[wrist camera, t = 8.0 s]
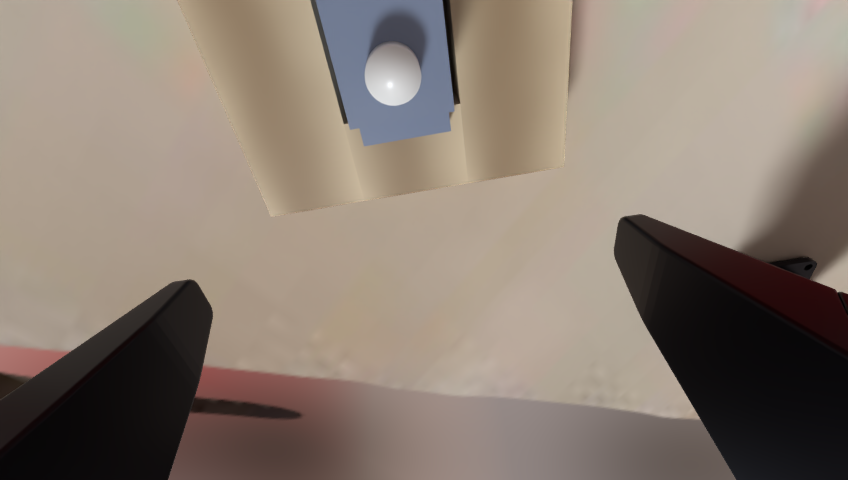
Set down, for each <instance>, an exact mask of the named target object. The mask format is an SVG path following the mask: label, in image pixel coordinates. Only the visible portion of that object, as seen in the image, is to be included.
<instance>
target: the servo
mask: <svg viewBox="0 0 848 480" xmlns="http://www.w3.org/2000/svg"><path fill="white" fill-rule="evenodd" d="M316 4H317V8H318V11H319V15H320V19H321V23H322V27H323V30H324V34H325V38H326V42H327V45H328V49H329V53H330V57H331V60H332V64H333V68H334V72H335V75H336V79H337V83H338V87H339V90H340V94H341V98H342V102H343V105H344V109H345V113H346V117H347V120H348V124H349V128H350V130H353V129H358V128H359V129H360V133H361V137H362V141H363V145H364V146H370V145H375V144H381V143H387V142H392V141H398V140H404V139H409V138H415V137H421V136H426V135H432V134H438V133H444V132H449V131H451V125H450V117H449V112H454V111H455V110H454V100H453V91H452V82H451V73H450V64H449V55H448V46H447V37H446V28H445V19H444V10H443V1H442V0H316Z"/></svg>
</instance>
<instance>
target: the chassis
mask: <svg viewBox="0 0 848 480" xmlns="http://www.w3.org/2000/svg"><path fill="white" fill-rule="evenodd" d="M177 1H178V3H179V6H180V8H181V10H182V13H183V15H184V17H185V19H186V22H187V24H188V26H189V29H190V31H191V33H192V36H193V38H194V40H195V43H196V45H197V47H198V49H199V52H200V54H201V56H202V59H203V61H204V63H205V66H206V68H207V70H208V73H209V75H210V77H211V79H212V82H213V84H214V86H215V89H216V91H217V93H218V96H219V98H220V100H221V103H222V105H223V107H224V109H225V112H226V114H227V116H228V119H229V121H230V123H231V126H232V128H233V130H234V133H235V135H236V137H237V139H238V142H239V144H240V146H241V149H242V151H243V153H244V156H245V158H246V160H247V163H248V165H249V167H250V169H251V172H252V174H253V176H254V179H255V181H256V183H257V186H258V188H259V190H260V193H261V195H262V197H263V199H264V202H265V204H266V206H267V209H268V211H269V213H270V216H271V217H274V216H280V215H285V214H291V213H297V212H303V211H309V210H315V209H321V208H327V207H332V206H338V205H344V204H350V203H356V202H362V201H368V200H374V199H379V198H385V197H391V196H397V195H403V194H409V193H415V192H420V191H426V190H432V189H438V188H444V187H450V186H456V185H462V184H467V183H473V182H479V181H485V180H491V179H497V178H503V177H509V176H514V175H520V174H526V173H532V172H538V171H544V170H550V169H555V168H561V167H564V157H565V137H566V117H567V97H568V78H569V58H570V38H571V18H572V0H442V1H443V10H444V19H445V28H446V37H447V46H448V55H449V64H450V73H451V82H452V91H453V100H454V110H455V111H454V112H449V117H450V125H451V131H449V132H444V133H438V134H432V135H426V136H421V137H415V138H409V139H404V140H398V141H392V142H387V143H381V144H375V145H370V146H364V145H363V141H362V137H361V133H360V129H359V128H358V129H353V130H350V128H349V124H348V120H347V117H346V113H345V109H344V105H343V102H342V98H341V94H340V90H339V87H338V83H337V79H336V75H335V72H334V68H333V64H332V60H331V57H330V53H329V49H328V45H327V42H326V38H325V34H324V30H323V27H322V23H321V19H320V15H319V11H318V8H317V4H316V0H177Z"/></svg>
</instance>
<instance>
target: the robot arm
mask: <svg viewBox="0 0 848 480" xmlns="http://www.w3.org/2000/svg"><path fill="white" fill-rule="evenodd" d="M614 256H615V260H616V262H617V264H618V267H619V269H620V271H621V273H622V276H623V278H624V280H625V283H626V285H627V287H628V289H629V292H630V294H631V296H632V298H633V301H634V303H635V305H636V308H637V310H638V312H639V314H640V316H641V318H642V320H643V322H644V324H645V326H646V327H647V329H648V331H649V333H650V334H651V336H652V338H653V339H654V341H655V343H656V345H657V346H658V348H659V350H660V351H661V353H662V355H663V356H664V358H665V360H666V361H667V363H668V365H669V367H670V368H671V370H672V372H673V373H674V375H675V377H676V378H677V380H678V382H679V383H680V385H681V387H682V389H683V390H684V392H685V394H686V395H687V397H688V399H689V400H690V402H691V404H692V405H693V407H694V409H695V411H696V412H697V414H698V416H699V417H700V419H701V421H702V422H703V424H704V426H705V427H706V429H707V431H708V433H709V434H710V436H711V438H712V439H713V441H714V443H715V444H716V446H717V448H718V449H719V451H720V452H721V455H722V456H723V458H724V460H725V461H726V463H727V465H728V466H729V468H730V469H731V471H732V473H733V475H734V477H735V478H736V480H848V294H846V293H843V292H838V293H837V291H836V290H835V289H833V288H830V287H828V286H825V285H823V284H820V283H817V282H815V281H812V280H810V277H811V276H812V274H813V272H814V270H815V268H816V266H817V263H816V262H815V261H814V260H813V259H811V258H809V257H805V258H799V259H793V260H787V261H780V262H774V263H766V262H763V261H761V260H758V259H756V258H753V257H751V256H748V255H745V254H743V253H740V252H738V251H735V250H733V249H730V248H727V247H725V246H722V245H720V244H717V243H715V242H712V241H709V240H707V239H704V238H702V237H699V236H697V235H694V234H691V233H689V232H686V231H684V230H681V229H679V228H676V227H673V226H671V225H668V224H666V223H663V222H661V221H658V220H655V219H653V218H650V217H648V216H645V215H642V214H638V215H631V216H624V217H622V218H621V219H620V220H619V223H618V227H617V233H616V240H615V246H614ZM212 319H213V311H212V308H211V305H210V304H209V302H208V300H207V298H206V297H205V295H204V293H203V292H202V290H201V288H200V287H199V285H198V284H197V282H195V281H194V280H191V279H189V280H182V281H175V282H172V283H170V284H169V285H167V286H166V287H164V288H163V289H161V290H160V291H159V292H157V293H156V294H154V295H153V296H151V297H150V298H148V299H147V300H145V301H144V302H142V303H141V304H140V305H138V306H137V307H135V308H134V309H132V310H131V311H129V312H128V313H126V314H125V315H124V316H122V317H121V318H119V319H118V320H116V321H115V322H113V323H112V324H110V325H109V326H107V327H106V328H105V329H103V330H102V331H100V332H99V333H97V334H96V335H94V336H93V337H91V338H90V339H89V340H87V341H86V342H84V343H83V344H81V345H80V346H78V347H77V348H75V349H74V350H72V351H71V352H70V353H68V354H67V355H65V356H64V357H62V358H61V359H59V360H58V361H57V362H55V363H54V364H52V365H51V366H49V367H48V368H46V369H45V370H43V371H42V372H40V373H39V374H38V375H36V376H35V377H33V378H32V379H30V380H29V381H27V382H26V383H24V384H23V385H21V386H20V387H19V388H17V389H16V390H14V391H13V392H11V393H10V394H8V395H7V396H5V397H4V398H3V399H1V400H0V480H168V478H169V475H170V471H171V469H172V465H173V462H174V459H175V456H176V453H177V450H178V447H179V444H180V441H181V438H182V435H183V432H184V428H185V425H186V422H187V419H188V416H189V413H190V410H191V407H192V404H193V401H194V397H195V394H196V391H197V388H198V384H199V381H200V376H201V372H202V368H203V363H204V358H205V353H206V348H207V343H208V338H209V334H210V329H211V324H212Z"/></svg>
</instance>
